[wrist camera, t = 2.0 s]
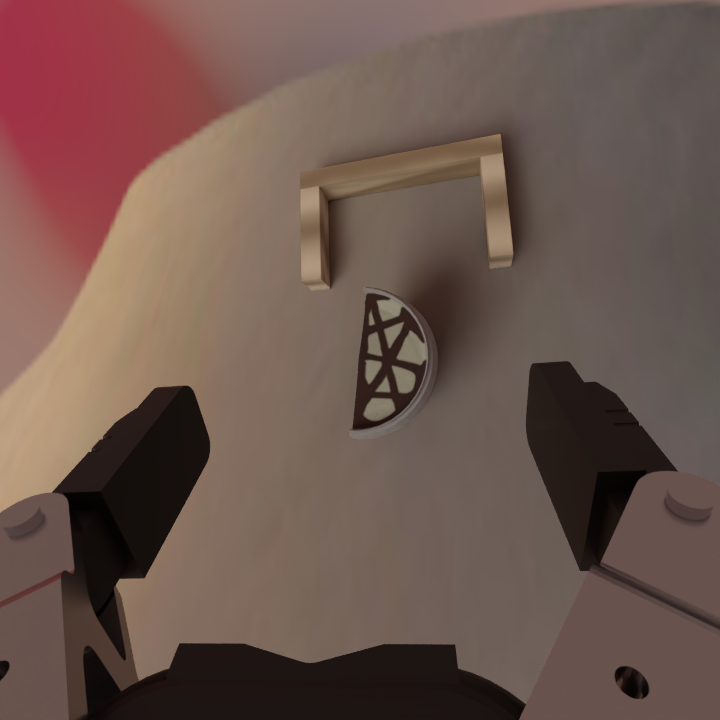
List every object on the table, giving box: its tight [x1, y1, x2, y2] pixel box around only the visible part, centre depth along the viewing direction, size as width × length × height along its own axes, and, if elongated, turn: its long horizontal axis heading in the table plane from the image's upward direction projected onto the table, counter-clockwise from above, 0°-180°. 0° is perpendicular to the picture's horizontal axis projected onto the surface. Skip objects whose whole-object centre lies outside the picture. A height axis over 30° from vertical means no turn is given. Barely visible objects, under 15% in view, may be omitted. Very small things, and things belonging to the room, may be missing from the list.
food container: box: [347, 287, 438, 439], centre depth 39 cm, size 12×6×10 cm, turn 174°
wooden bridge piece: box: [300, 134, 513, 291], centre depth 45 cm, size 12×20×3 cm, turn 92°
